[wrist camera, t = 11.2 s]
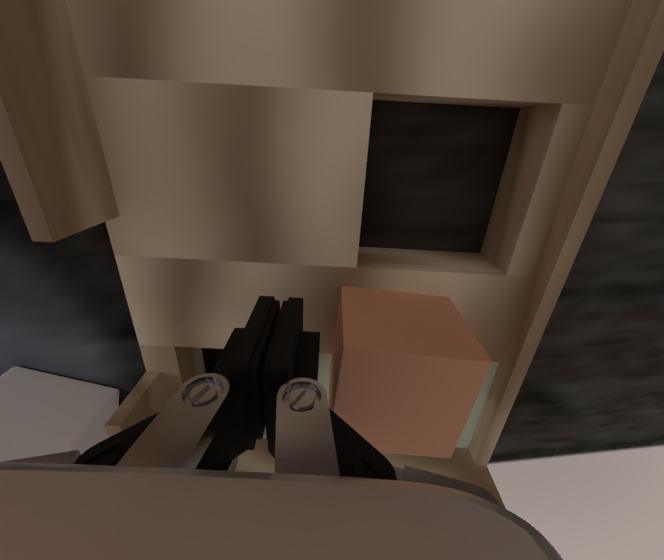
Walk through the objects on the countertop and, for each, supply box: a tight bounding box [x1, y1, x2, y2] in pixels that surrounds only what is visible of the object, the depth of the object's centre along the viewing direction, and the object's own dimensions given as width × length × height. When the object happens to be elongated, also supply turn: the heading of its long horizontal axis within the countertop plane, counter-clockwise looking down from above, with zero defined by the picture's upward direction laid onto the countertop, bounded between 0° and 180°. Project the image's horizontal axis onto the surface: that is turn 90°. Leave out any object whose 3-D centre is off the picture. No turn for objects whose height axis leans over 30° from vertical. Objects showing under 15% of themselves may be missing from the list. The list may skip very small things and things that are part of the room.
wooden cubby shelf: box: [0, 0, 664, 509], centre depth 13 cm, size 17×20×6 cm
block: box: [329, 286, 493, 458], centre depth 12 cm, size 4×4×4 cm
